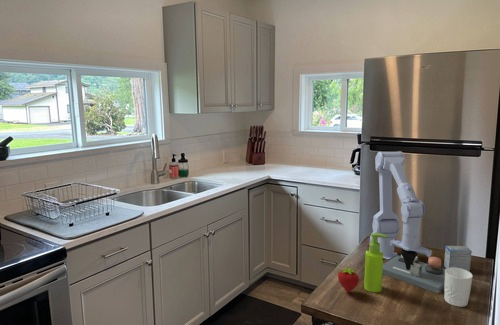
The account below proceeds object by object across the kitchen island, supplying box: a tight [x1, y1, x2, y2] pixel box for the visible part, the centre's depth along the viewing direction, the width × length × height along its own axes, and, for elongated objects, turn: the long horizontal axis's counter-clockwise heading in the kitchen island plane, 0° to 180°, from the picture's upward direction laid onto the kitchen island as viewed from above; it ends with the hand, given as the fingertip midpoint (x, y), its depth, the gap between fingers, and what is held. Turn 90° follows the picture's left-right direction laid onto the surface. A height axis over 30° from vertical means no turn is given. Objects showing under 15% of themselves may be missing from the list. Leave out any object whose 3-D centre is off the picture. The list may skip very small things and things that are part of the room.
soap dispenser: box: [363, 232, 388, 293], centre depth 131 cm, size 6×7×20 cm
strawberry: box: [337, 267, 360, 293], centre depth 130 cm, size 6×8×10 cm
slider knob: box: [410, 263, 422, 277], centre depth 138 cm, size 3×3×4 cm
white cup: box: [443, 268, 474, 308], centre depth 123 cm, size 8×8×10 cm
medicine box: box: [443, 245, 472, 272], centre depth 146 cm, size 8×4×9 cm, turn 84°
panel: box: [382, 254, 446, 294], centre depth 142 cm, size 22×16×3 cm
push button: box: [427, 256, 442, 268], centre depth 140 cm, size 4×4×2 cm
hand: (408, 268), depth 140 cm, fingers closed
